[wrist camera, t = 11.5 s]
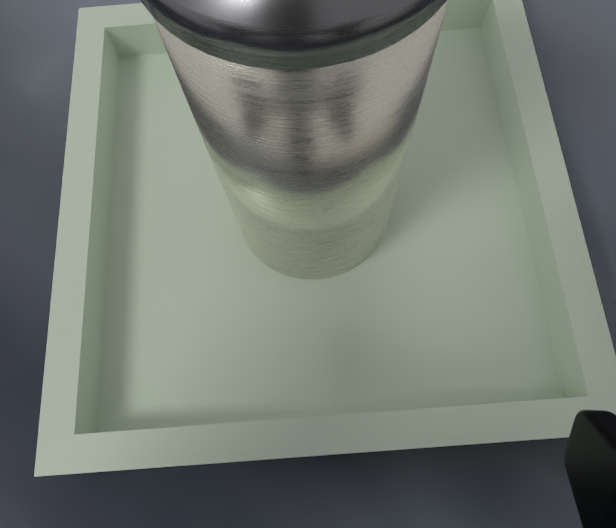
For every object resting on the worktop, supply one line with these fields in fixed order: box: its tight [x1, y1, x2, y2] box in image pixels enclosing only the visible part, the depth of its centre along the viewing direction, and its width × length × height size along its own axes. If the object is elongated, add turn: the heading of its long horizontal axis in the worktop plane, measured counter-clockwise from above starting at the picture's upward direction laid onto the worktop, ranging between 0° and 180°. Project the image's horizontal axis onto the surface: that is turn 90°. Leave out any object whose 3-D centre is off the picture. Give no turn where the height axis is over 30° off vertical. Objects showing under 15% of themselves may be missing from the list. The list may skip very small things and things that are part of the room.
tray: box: [34, 0, 616, 477], centre depth 17 cm, size 16×16×2 cm
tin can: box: [141, 0, 449, 280], centre depth 13 cm, size 5×5×11 cm
